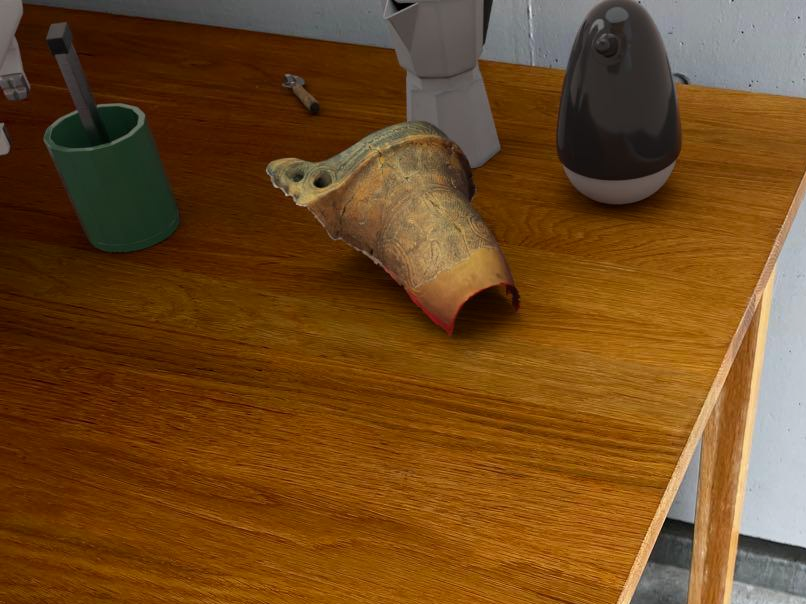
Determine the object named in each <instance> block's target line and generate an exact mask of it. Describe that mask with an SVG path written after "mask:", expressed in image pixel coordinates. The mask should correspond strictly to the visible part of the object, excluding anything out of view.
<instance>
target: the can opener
mask: <svg viewBox="0 0 806 604" xmlns="http://www.w3.org/2000/svg"><path fill="white" fill-rule="evenodd" d="M283 77H284V78H283V79H284V83H281V86H282V87H283V88H286V89H287V88H288V89H292V92H293V94H294V95H295V96H296V97H297V98H298V99H300V101H301V103H302V105H304V106H305V108H307V109H308V110H309V112H311V113H312V114H313V113H314V114H317V113H318V112H319V111H320V110H321V106H320V104H319V102H318V100H316V98H315V97H314V96H313V95H312V94H311V93H309V92H308V91H307V90H306V89H305V88H304V85H306V82H305V80H304V79H303V78H302V77H300V76H297V75H293V74H291V73H287V74H284V76H283ZM294 80H295V81H294Z"/></svg>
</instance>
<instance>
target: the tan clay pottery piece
mask: <svg viewBox="0 0 806 604" xmlns="http://www.w3.org/2000/svg"><path fill="white" fill-rule="evenodd" d="M265 173H266V174H267V175H269V176H270V181H271V183H272V186H273V187H274V188H278V189H280V190H282V192H283V193H284V195H285V197H288V196H291V197H292V200H293V202H294V203H295V205H297V206H300V207H303V208H305V207H307V209H308V210H309V211H310V212H311V213H312V214H313V215H314V219H317V221H318V222H319V223H320V224H321V225H322V228H325V230H326V233H327V234H328V236H329V238H331V240H333V241H334V242H335V241H338V240H340V241H341V240H342V241H343V242H345V243H346V244H347V245H348V246H350V247H352V248H353V249H355V250H356V252H361V253H362V254H363V255H365V256H367V257H368V258H369V259H370V260H372V261H373V264H376V265H378V264H379V267H382V268H383V269H384V271H385V272H386V273H388V274H389V275H390V276H391V278H392V279H394V281H395V282H396V283H397V284H398V285H399V286H400V287H402V286H403V288H404V290H405V293H406V294H408V296H409V297H410V300H411V301H412V302H413V303H414V304H415V305H416V307H417V308H420V309H421V311H422V312H423V313H424V314H426V315H427V316H428V318H430V320H431V321H432V322H434V324H435V325H437V326H439V327H441V328H442V329H443V330H444V331H446V334H447V335H448V336H449V337H450V338H452V333H453V330H454V329H455V321H456V319H457V316H458V314H459V312H460V310H461V309H462V307H464V304H465V303H466V302H467V301H468V300H469V299H471V298H473V297H475V296H476V295H477V294H479V293H480V292H482V291H484V290H486V289H487V290H488V288H492V287H495V286H505V296H509V295H511V306H512V307H513V309H514V312H515V314H517V313H518V311H519V309H520V308H521V305H520V304H521V301H522V300H520V299H521V294H519V293H520V290H518V287H516V285H515V280H514V277H513V273H512V271H511V267H510V266H509V263H508V261H507V258H506V256H505V254H504V252H503V250H502V249H501V247H500V245H499V243H498V241H497V239H496V237H495V236H494V234H493V232H492V231H491V229H490V227H489V226H488V225H487V224H486V222H485V220H484V218H482V216H481V215H480V214H479V212H477V210H476V208H475V207H474V206H473V205H472V201H473V200H474V198H475V195H476V194H477V187H476V184H475V182H474V176H475V175H474V173H473V171H472V168H471V167H470V164H469V161H468V159H467V157H466V155H465V154H464V153H463V151H462V150H461V148H460V147H459V146H458V145H457V144H456V143H455V142H454V141H452V140H451V139H450V138H449V137H448V136H447V135H446V134H445V133H443V132H442V131H441V130H440V129H439V128H437V127H436V126H435V125H433V124H431V123H428V122H426V121H408V122H407V121H403V122H399V123H396V124H392V125H389V126H386V127H383V128H381V129H379V130H377V131H374V132H372V133H370V134H368V135H366V136H364V137H363V138H362V139H360V140H359V141H358V142H356V143H354V144H353V145H350V147H348V148H347V149H344V150H342V151H341V152H339V153H338V154H336V155H335V154H334V155H333V156H332V157H329V158H328V159H325V160H323V161H322V160H321V161H318V162H311V161H307V160H304V159H300V158H296V157H286V158H280V159H275V160H273V161H270V163H268V165H267V166H266V170H265Z"/></svg>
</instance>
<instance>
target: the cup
mask: <svg viewBox="0 0 806 604" xmlns="http://www.w3.org/2000/svg"><path fill="white" fill-rule="evenodd" d="M96 105H97V107H98V110H99V113H100V115H101V118H102V120H103V123H104V125H105V128H106V130H107V133H108V136H109V138H110V141H111V143H107V144H103V145H99V146H95V147H92V145H91V143H90V140H89V138H88V135H87V133H86V131H85V128H84V126H83V123H82V121H81V118H80V116H79V113H78V111H77V109H75V110H74V111H72V112H69V113H67V114H65V115H63V116H61V117H59V118H57V119H56V120H54V122H53V123H52V124H51V125H49V126H48V127H47V128H46V130H45V133H44V136H43V142H44V144H45V146H46V149H47V152H48V154H49V155H50V158H51V160H52V163H53V164H54V168H55V169H56V173H58V176H59V178H60V180H61V183H62V185H63V187H64V190H65V192H66V194H67V196H68V199H69V201H70V203H71V205H72V207H73V210H74V212H75V215H76V217H77V219H78V221H79V224H80V226H81V228H82V231H83V233H84V234H85V235H86V237H87V239H88V242H89V243H90V244H91V245H92V246H93V247H94V248H95V249H98V250H99V249H100V250H99V251H102V252H106V253H112V252H115V253H114V254H117V253H116V252H119V253H118V254H120V253H121V252H124V253H132V252H136V251H140V250H145V249H147V248H151V247H153V246H155V245H157V244H160V243H161V242H163V241H164V240H166V239H168V238H169V237H171V236H172V234H174V233H175V231H177V229H178V228H179V226H180V223H181V214H180V211H179V205H178V202H177V200H176V197H175V194H174V191H173V188H172V186H171V182H170V179H169V177H168V174H167V172H166V168H165V166H164V163H163V160H162V157H161V155H160V152H159V149H158V146H157V143H156V141H155V138H154V135H153V132H152V130H151V127H150V124H149V121H148V118H147V116H146V114H145V113H144V112H143V111H142V110H141V109H140V108H139V107H138V106H136V105H135V106H134V105H130V104H126V103H120V102H119V103H117V102H116V103H100V104H96ZM131 251H132V252H131Z"/></svg>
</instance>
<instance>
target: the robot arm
mask: <svg viewBox="0 0 806 604" xmlns="http://www.w3.org/2000/svg"><path fill="white" fill-rule="evenodd" d="M23 15H24V7H23V0H0V87H1V89H2V91H3V94H4V96H5V98H6V99H7V100H9V101H12V102H16V101H19V100H20V101H21V100H26V99H27V98H28V96H29V94H30V90H31V85H30V83H29V80H28V77H27V76H26V73H25V71H24V65H23V62H22V57H21V51H20V47H19V43H18V41H17V38H16V36H15V34H16V32H17V30H18V27H19V25H20V22H21V19H22V17H23ZM12 142H13V140H12V137H11V136H10V134H9V131H8V128H7V127H6V124H5V122H0V156H3V155H7V154H8V153H9V152H10V150H11V145H12Z"/></svg>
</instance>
